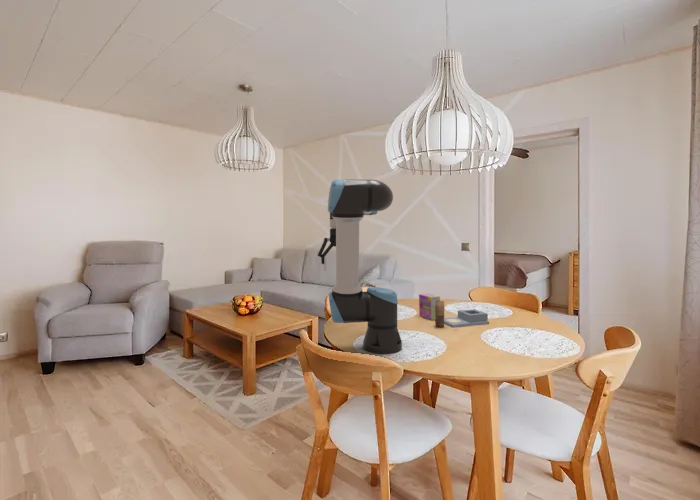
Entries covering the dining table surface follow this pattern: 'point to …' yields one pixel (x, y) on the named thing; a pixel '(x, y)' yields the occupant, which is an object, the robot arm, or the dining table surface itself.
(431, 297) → the box
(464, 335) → the dining table surface
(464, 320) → the socket board
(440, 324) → the peg
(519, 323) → the dining table surface
